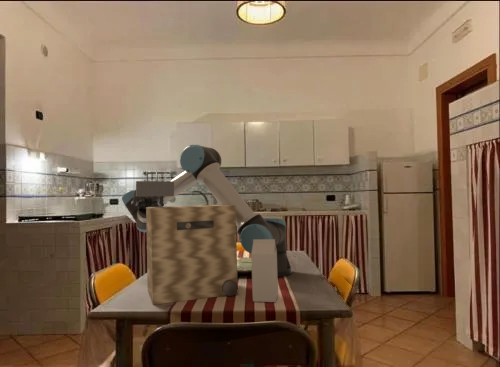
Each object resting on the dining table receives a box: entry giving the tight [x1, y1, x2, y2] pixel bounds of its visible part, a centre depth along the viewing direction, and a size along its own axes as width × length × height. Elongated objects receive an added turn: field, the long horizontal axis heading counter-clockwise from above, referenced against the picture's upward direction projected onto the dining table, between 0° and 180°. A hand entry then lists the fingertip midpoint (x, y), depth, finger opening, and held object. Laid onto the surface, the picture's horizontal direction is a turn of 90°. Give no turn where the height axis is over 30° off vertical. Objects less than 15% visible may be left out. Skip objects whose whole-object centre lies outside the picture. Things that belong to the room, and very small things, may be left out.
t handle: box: [135, 180, 174, 197], centre depth 135 cm, size 12×30×5 cm, turn 20°
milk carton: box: [250, 239, 279, 303], centre depth 118 cm, size 7×7×19 cm
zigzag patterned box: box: [146, 204, 239, 305], centre depth 128 cm, size 28×20×30 cm
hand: (150, 182), depth 140 cm, fingers closed on t handle, 3 cm apart
